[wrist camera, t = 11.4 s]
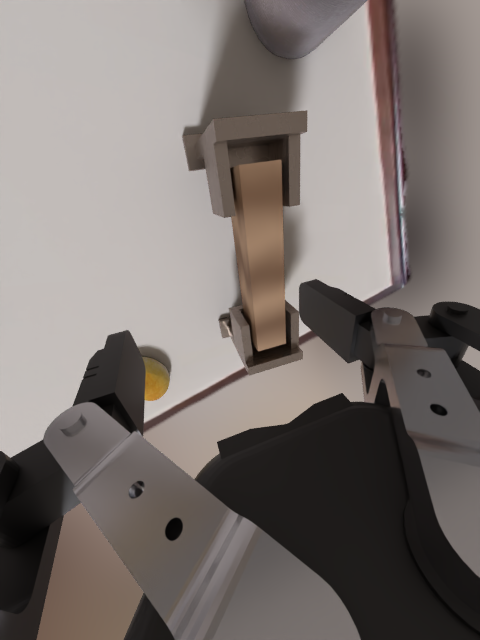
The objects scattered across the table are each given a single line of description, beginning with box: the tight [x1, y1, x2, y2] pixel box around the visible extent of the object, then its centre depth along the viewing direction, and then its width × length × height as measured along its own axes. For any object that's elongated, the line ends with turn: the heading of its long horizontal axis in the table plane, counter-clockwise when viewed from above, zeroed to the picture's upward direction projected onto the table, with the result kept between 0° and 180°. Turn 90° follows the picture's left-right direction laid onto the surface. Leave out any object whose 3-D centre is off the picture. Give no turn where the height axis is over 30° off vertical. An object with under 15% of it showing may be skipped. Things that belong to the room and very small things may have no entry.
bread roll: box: [142, 357, 170, 401], centre depth 34 cm, size 8×9×4 cm
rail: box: [230, 160, 286, 351], centre depth 24 cm, size 18×4×4 cm, turn 7°
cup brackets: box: [182, 111, 307, 375], centre depth 27 cm, size 25×9×11 cm, turn 8°
